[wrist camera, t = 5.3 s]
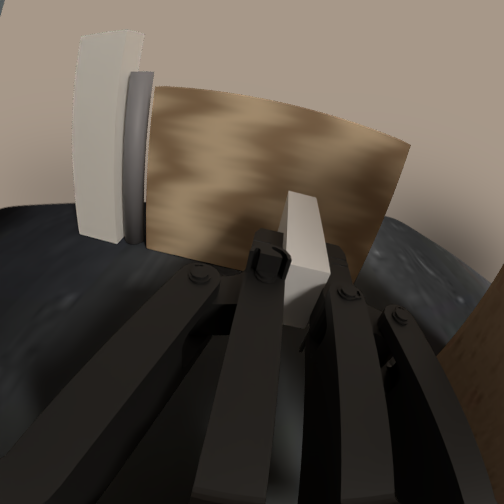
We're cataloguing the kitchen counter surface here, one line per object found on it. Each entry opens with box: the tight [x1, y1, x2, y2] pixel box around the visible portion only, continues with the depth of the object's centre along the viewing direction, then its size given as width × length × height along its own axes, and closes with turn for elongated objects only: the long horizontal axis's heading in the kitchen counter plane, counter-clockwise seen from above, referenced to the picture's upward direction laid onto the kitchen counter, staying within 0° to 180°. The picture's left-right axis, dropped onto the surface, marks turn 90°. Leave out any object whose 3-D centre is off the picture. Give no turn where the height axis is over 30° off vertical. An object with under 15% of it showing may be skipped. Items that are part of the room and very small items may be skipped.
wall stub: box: [72, 29, 154, 244], centre depth 17 cm, size 6×2×16 cm, turn 82°
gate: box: [146, 86, 411, 284], centre depth 19 cm, size 16×3×12 cm, turn 82°
